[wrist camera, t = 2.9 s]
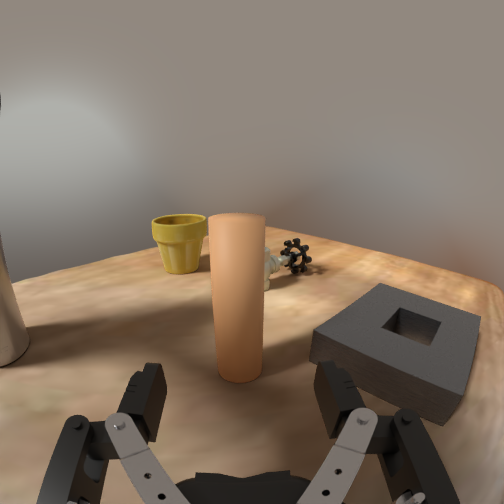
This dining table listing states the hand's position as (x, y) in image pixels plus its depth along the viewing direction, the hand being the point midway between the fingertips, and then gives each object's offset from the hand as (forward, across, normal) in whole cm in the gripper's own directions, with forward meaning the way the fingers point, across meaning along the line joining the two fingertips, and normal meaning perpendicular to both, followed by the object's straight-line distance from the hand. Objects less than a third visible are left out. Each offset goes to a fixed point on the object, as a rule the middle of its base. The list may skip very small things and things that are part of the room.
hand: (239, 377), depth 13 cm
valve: (+32, -6, +9) cm, 34 cm away
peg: (+11, 0, +9) cm, 14 cm away
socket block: (+10, -18, +9) cm, 23 cm away
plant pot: (+39, +11, +9) cm, 42 cm away
